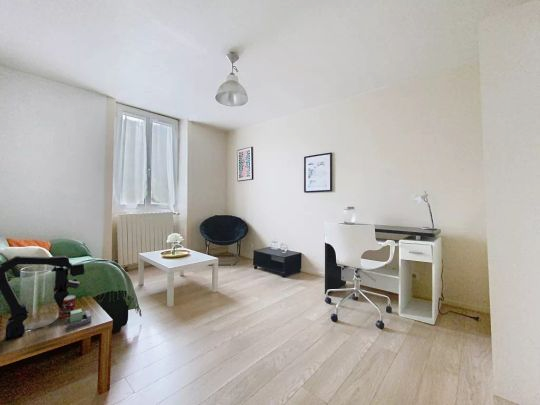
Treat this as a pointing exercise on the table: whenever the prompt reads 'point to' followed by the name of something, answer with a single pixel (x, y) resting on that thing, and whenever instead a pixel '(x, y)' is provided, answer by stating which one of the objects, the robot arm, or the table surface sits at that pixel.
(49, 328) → the table surface
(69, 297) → the canned food
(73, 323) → the side mount
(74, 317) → the chute block
